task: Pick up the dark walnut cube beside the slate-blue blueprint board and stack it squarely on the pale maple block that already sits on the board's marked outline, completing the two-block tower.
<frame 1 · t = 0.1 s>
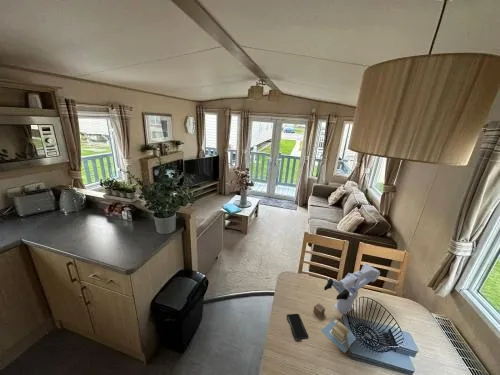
hand: (330, 293, 114), 22 cm above the table, tool horizontal, fingers open, 7 cm apart
blueprint board: (339, 335, 115), on the table
phone: (296, 327, 118), on the table
maple base block: (339, 334, 115), point 1 cm above the table, touching blueprint board
walnut block: (318, 313, 127), on the table
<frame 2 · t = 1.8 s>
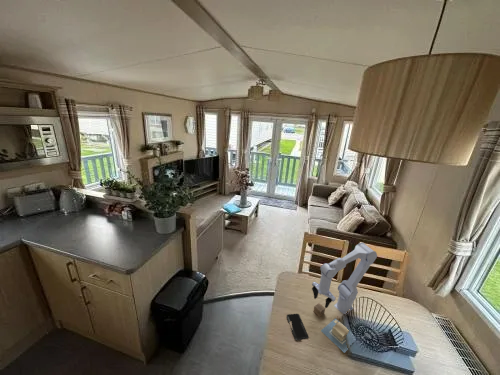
hand: (320, 302, 125), 8 cm above the table, tool pointing down, fingers open, 7 cm apart
nothing on the table moved.
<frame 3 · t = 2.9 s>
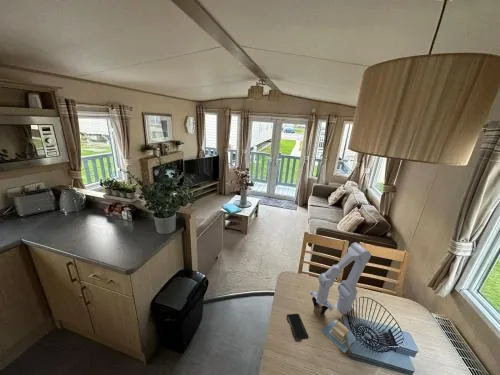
hand: (319, 311, 127), 1 cm above the table, tool pointing down, fingers closed on walnut block, 4 cm apart
walnut block: (318, 312, 127), on the table, touching gripper
everything else where it was.
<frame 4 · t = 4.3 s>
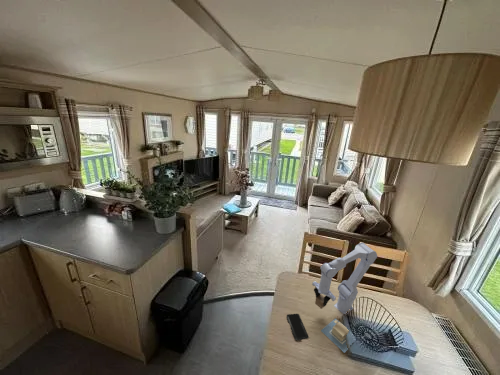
hand: (321, 302, 125), 8 cm above the table, tool pointing down, fingers closed on walnut block, 4 cm apart
walnut block: (320, 304, 125), point 7 cm above the table, touching gripper
everything else where it was.
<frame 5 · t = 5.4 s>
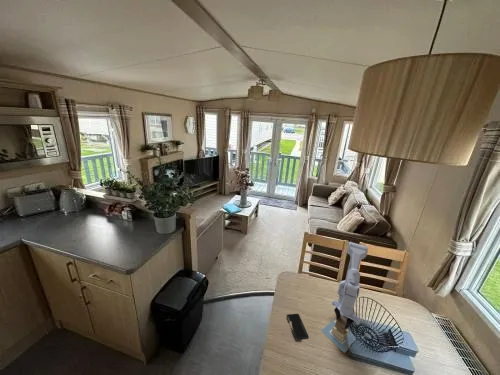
hand: (342, 323, 112), 8 cm above the table, tool pointing down, fingers closed on walnut block, 4 cm apart
walnut block: (341, 327, 113), point 6 cm above the table, touching gripper
everything else where it was.
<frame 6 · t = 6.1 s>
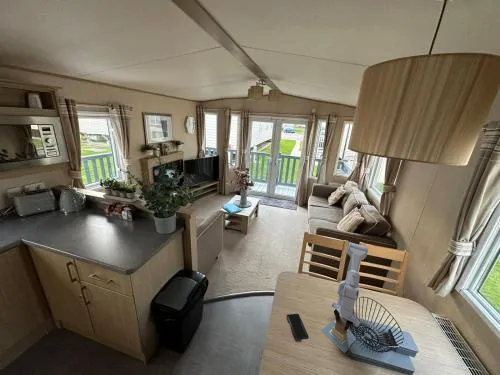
hand: (341, 325, 113), 7 cm above the table, tool pointing down, fingers closed on walnut block, 4 cm apart
maple base block: (339, 334, 115), point 1 cm above the table, touching blueprint board, walnut block
walnut block: (340, 329, 113), point 5 cm above the table, touching gripper, maple base block
everything else where it was.
when the fingers open (7 cm above the table, at t = 6.1 s): walnut block stays where it is, resting on maple base block.
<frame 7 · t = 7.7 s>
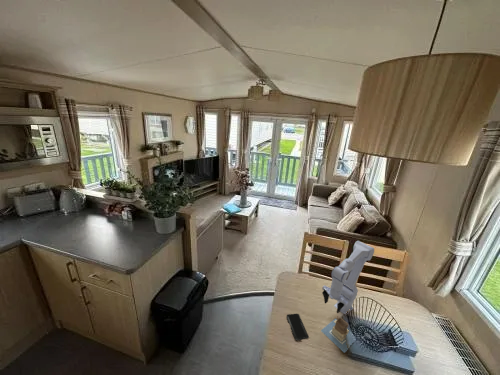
hand: (331, 307, 119), 10 cm above the table, tool pointing down, fingers open, 7 cm apart
walnut block: (340, 329, 113), point 5 cm above the table, touching maple base block
everything else where it was.
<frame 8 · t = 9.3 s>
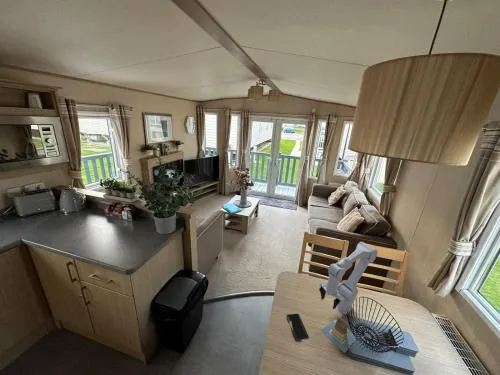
hand: (328, 303, 122), 10 cm above the table, tool pointing down, fingers open, 7 cm apart
nothing on the table moved.
at the end: walnut block 0.4 cm off-centre on the maple base block, point 4.0 cm above the maple base block's base; walnut block tilted 0°; maple base block moved 0.0 cm from its start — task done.
